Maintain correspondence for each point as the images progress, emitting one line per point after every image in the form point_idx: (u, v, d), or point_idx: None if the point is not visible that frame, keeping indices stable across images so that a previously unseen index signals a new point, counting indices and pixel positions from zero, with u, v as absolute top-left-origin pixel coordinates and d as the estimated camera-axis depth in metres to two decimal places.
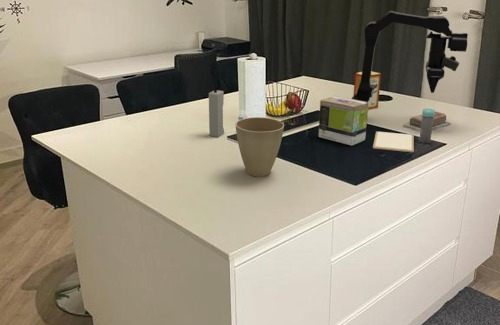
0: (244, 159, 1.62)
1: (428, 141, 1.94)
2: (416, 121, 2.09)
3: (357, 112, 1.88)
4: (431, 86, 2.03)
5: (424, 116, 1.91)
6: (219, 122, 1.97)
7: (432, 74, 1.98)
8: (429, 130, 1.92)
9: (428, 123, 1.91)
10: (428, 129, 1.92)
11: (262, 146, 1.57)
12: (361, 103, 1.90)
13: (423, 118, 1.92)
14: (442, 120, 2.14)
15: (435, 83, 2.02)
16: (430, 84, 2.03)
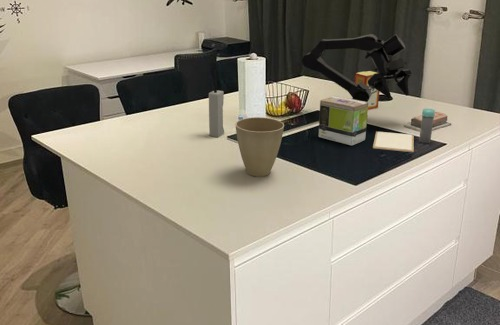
0: (244, 159, 1.62)
1: (428, 141, 1.94)
2: (417, 122, 2.09)
3: (357, 112, 1.88)
4: (384, 93, 2.03)
5: (424, 116, 1.91)
6: (219, 122, 1.97)
7: (370, 82, 2.03)
8: (429, 130, 1.92)
9: (428, 123, 1.91)
10: (428, 129, 1.92)
11: (262, 146, 1.57)
12: (361, 103, 1.90)
13: (423, 118, 1.92)
14: (443, 120, 2.14)
15: (384, 88, 2.02)
16: (382, 92, 2.03)
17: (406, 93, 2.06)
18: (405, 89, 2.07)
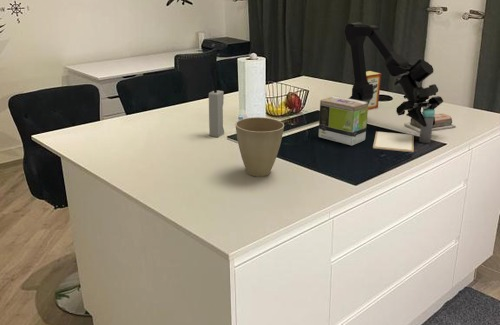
0: (244, 159, 1.62)
1: (428, 141, 1.94)
2: (415, 121, 2.09)
3: (357, 112, 1.88)
4: (419, 121, 1.93)
5: (424, 116, 1.91)
6: (219, 122, 1.97)
7: (399, 111, 1.92)
8: (429, 130, 1.92)
9: (428, 123, 1.91)
10: (428, 129, 1.92)
11: (262, 146, 1.57)
12: (361, 103, 1.90)
13: None
14: (446, 122, 2.11)
15: (419, 116, 1.92)
16: (417, 120, 1.93)
17: None
18: None
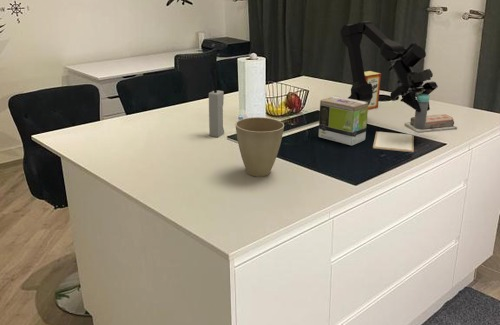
0: (244, 159, 1.62)
1: (423, 127, 1.91)
2: None
3: (357, 112, 1.88)
4: (413, 106, 1.89)
5: (419, 101, 1.88)
6: (219, 122, 1.97)
7: (393, 96, 1.88)
8: (424, 116, 1.89)
9: (423, 109, 1.88)
10: (422, 114, 1.89)
11: (262, 146, 1.57)
12: (361, 103, 1.90)
13: None
14: (447, 123, 2.10)
15: (413, 101, 1.88)
16: (411, 105, 1.89)
17: None
18: None
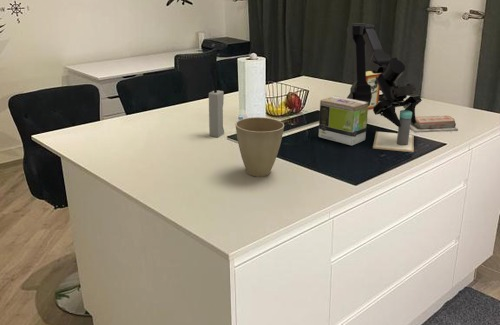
0: (244, 159, 1.62)
1: (405, 143, 1.90)
2: None
3: (357, 112, 1.88)
4: (393, 121, 1.87)
5: (401, 118, 1.87)
6: (219, 122, 1.97)
7: (376, 110, 1.87)
8: (406, 132, 1.88)
9: (405, 125, 1.87)
10: (405, 131, 1.88)
11: (262, 146, 1.57)
12: (361, 103, 1.90)
13: (400, 120, 1.88)
14: (448, 124, 2.08)
15: (393, 116, 1.86)
16: (391, 120, 1.88)
17: (413, 122, 1.90)
18: (412, 117, 1.90)
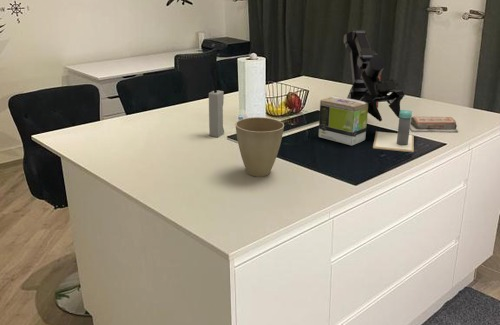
0: (244, 159, 1.62)
1: (405, 143, 1.90)
2: (413, 120, 2.10)
3: (357, 112, 1.88)
4: (374, 116, 1.94)
5: (401, 117, 1.87)
6: (219, 122, 1.97)
7: None
8: (406, 132, 1.88)
9: (405, 125, 1.87)
10: (405, 130, 1.88)
11: (262, 146, 1.57)
12: (361, 103, 1.90)
13: (400, 119, 1.88)
14: (448, 126, 2.07)
15: (374, 111, 1.93)
16: (373, 114, 1.94)
17: (398, 115, 1.97)
18: (397, 111, 1.97)
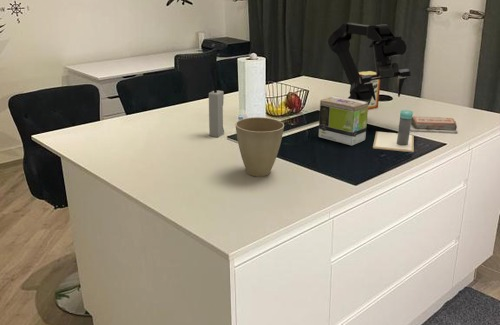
0: (244, 159, 1.62)
1: (405, 143, 1.90)
2: (413, 120, 2.10)
3: (357, 112, 1.88)
4: (371, 93, 2.06)
5: (401, 118, 1.87)
6: (219, 122, 1.97)
7: (359, 81, 2.06)
8: (406, 132, 1.88)
9: (405, 125, 1.87)
10: (405, 131, 1.88)
11: (262, 146, 1.57)
12: (361, 103, 1.90)
13: (400, 120, 1.87)
14: (447, 126, 2.06)
15: (370, 90, 2.04)
16: (370, 91, 2.06)
17: (398, 94, 2.04)
18: (398, 90, 2.04)
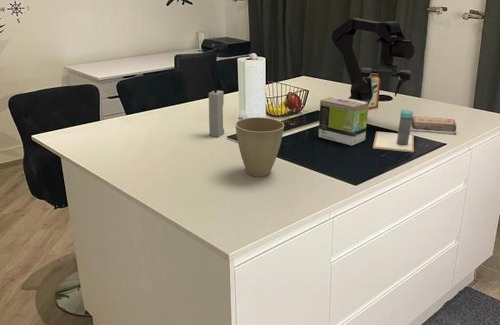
0: (244, 159, 1.62)
1: (405, 143, 1.90)
2: (413, 120, 2.11)
3: (357, 112, 1.88)
4: None
5: (402, 117, 1.87)
6: (219, 122, 1.97)
7: None
8: (406, 132, 1.88)
9: (406, 125, 1.87)
10: (405, 130, 1.88)
11: (262, 146, 1.57)
12: (361, 103, 1.90)
13: (401, 119, 1.88)
14: (446, 127, 2.05)
15: None
16: None
17: None
18: None
